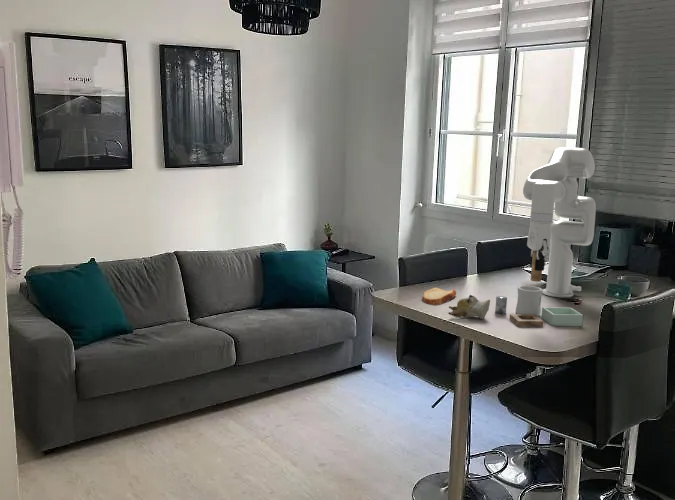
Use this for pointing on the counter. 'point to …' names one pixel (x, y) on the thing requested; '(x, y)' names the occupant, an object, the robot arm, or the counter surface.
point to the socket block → (526, 320)
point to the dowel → (534, 274)
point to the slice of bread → (437, 296)
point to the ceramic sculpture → (470, 308)
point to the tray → (562, 316)
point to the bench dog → (501, 305)
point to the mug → (529, 300)
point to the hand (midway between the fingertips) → (537, 268)
